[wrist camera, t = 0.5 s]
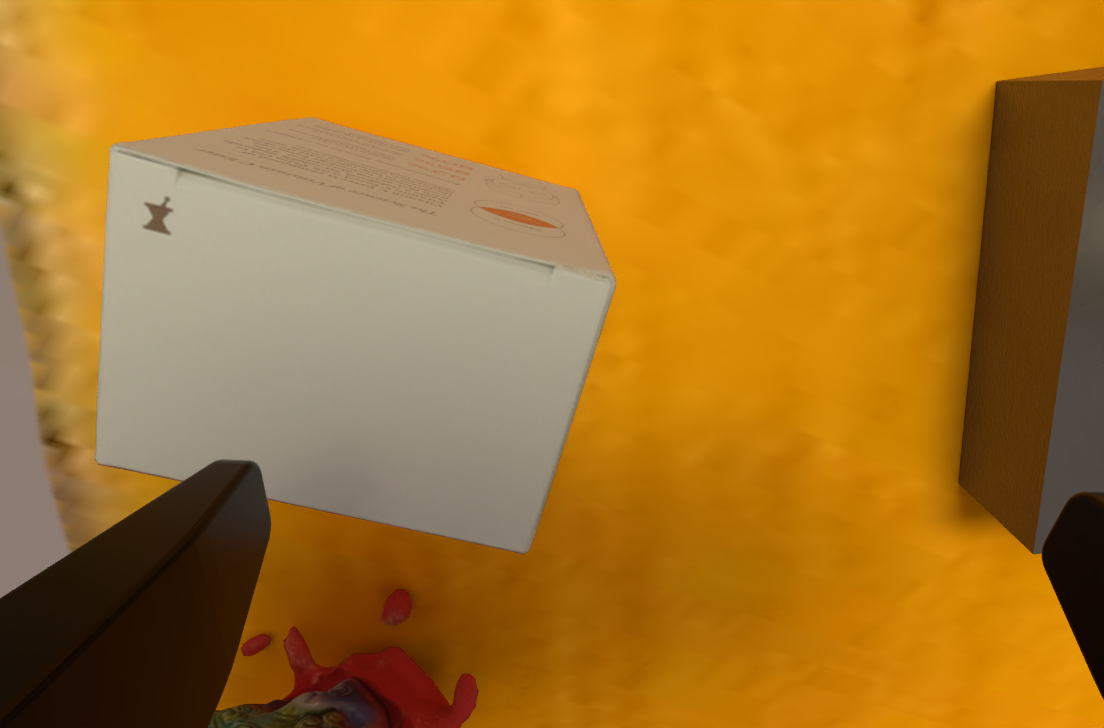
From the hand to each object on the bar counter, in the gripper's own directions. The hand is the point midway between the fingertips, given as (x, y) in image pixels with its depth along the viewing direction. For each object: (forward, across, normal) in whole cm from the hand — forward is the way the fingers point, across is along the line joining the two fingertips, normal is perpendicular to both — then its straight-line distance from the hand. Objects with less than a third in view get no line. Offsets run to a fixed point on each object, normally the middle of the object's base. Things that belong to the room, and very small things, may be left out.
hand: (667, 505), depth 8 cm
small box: (+14, +5, +3) cm, 15 cm away
